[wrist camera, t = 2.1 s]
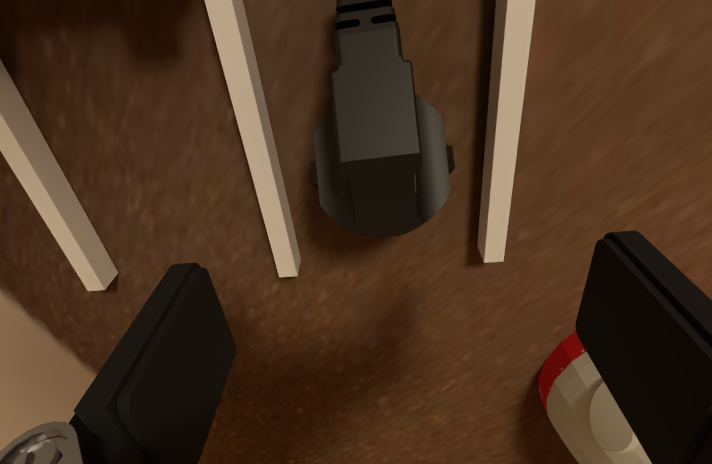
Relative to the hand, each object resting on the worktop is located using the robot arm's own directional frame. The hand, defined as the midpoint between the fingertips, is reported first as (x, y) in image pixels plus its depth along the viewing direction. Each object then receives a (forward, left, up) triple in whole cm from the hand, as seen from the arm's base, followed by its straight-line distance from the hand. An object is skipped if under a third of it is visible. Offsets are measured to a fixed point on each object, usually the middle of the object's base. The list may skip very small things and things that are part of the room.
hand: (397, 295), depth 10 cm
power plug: (-3, 0, -11) cm, 12 cm away
